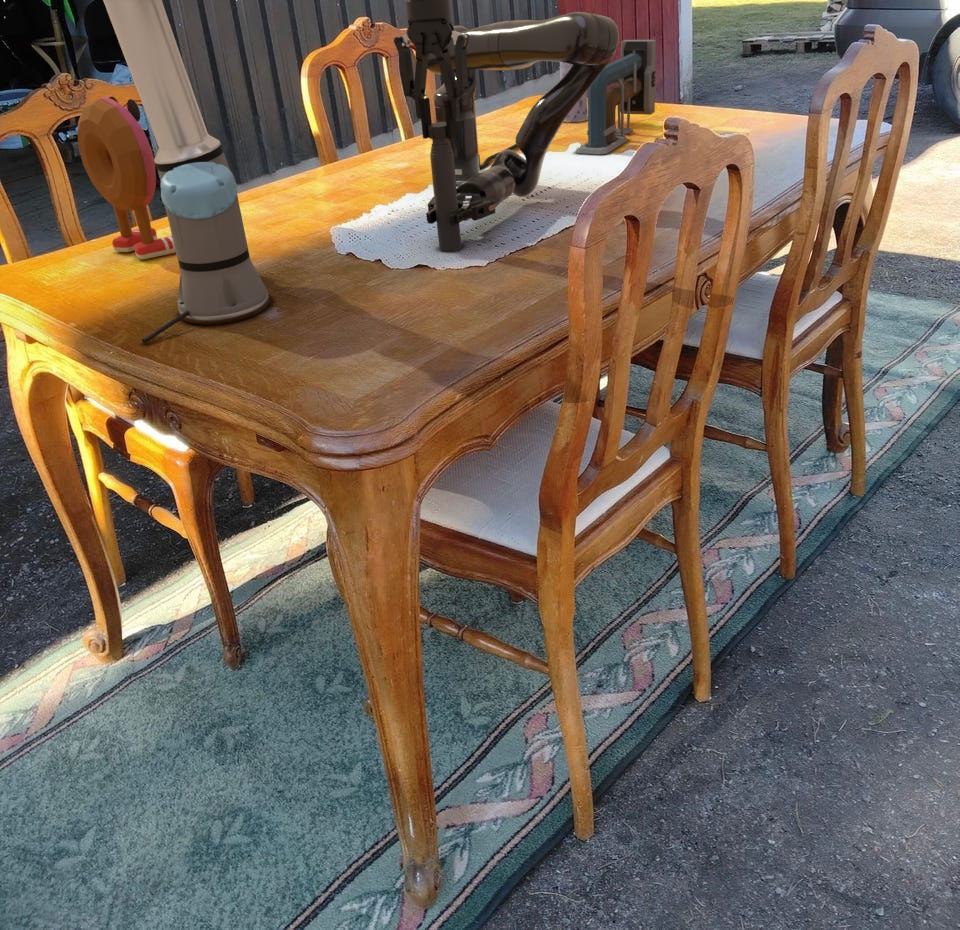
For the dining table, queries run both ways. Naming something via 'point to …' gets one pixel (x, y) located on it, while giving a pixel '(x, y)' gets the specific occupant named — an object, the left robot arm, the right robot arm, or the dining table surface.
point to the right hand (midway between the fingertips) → (440, 219)
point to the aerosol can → (580, 108)
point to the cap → (437, 130)
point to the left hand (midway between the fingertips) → (440, 136)
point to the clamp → (620, 96)
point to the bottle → (445, 194)
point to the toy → (122, 171)
